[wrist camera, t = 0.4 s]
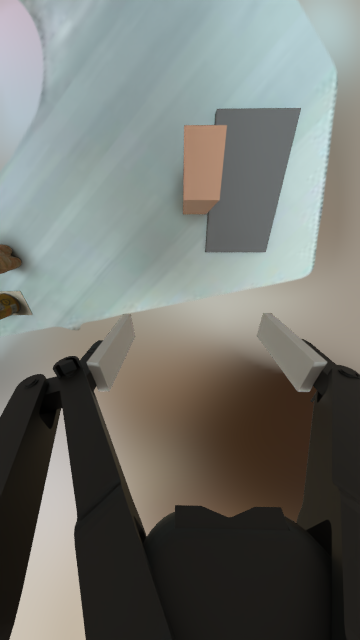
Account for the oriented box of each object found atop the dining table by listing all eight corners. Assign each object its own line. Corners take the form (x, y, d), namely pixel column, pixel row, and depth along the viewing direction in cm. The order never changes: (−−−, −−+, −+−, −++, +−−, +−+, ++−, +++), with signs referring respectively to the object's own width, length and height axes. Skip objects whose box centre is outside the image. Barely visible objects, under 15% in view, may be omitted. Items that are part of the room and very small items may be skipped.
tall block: (183, 171, 30) (184, 125, 18) (208, 171, 30) (227, 125, 18) (183, 214, 33) (183, 200, 21) (205, 214, 33) (219, 200, 21)
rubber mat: (215, 114, 26) (216, 108, 25) (296, 113, 26) (301, 108, 25) (205, 251, 37) (206, 251, 36) (263, 251, 37) (265, 252, 36)
